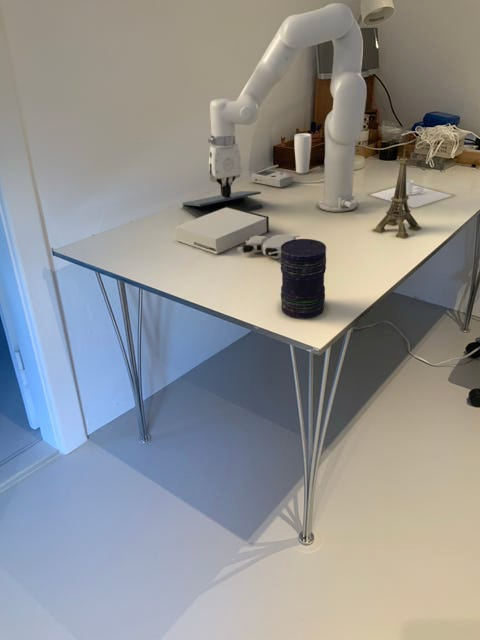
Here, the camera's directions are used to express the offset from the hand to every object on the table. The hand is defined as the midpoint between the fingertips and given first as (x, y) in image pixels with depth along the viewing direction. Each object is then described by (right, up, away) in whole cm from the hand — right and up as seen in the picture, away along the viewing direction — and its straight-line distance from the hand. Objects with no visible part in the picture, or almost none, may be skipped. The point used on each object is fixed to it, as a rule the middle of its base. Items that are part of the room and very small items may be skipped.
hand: (226, 196), depth 182 cm
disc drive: (0, -16, -18) cm, 24 cm away
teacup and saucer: (+65, +2, +9) cm, 66 cm away
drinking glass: (+31, +19, +42) cm, 55 cm away
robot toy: (+13, -23, -31) cm, 40 cm away
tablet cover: (-2, 0, +5) cm, 5 cm away
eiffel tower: (+52, -15, -20) cm, 57 cm away
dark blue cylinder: (+19, -39, -59) cm, 74 cm away
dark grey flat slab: (-2, -3, +6) cm, 7 cm away
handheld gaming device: (+18, +12, +30) cm, 37 cm away
